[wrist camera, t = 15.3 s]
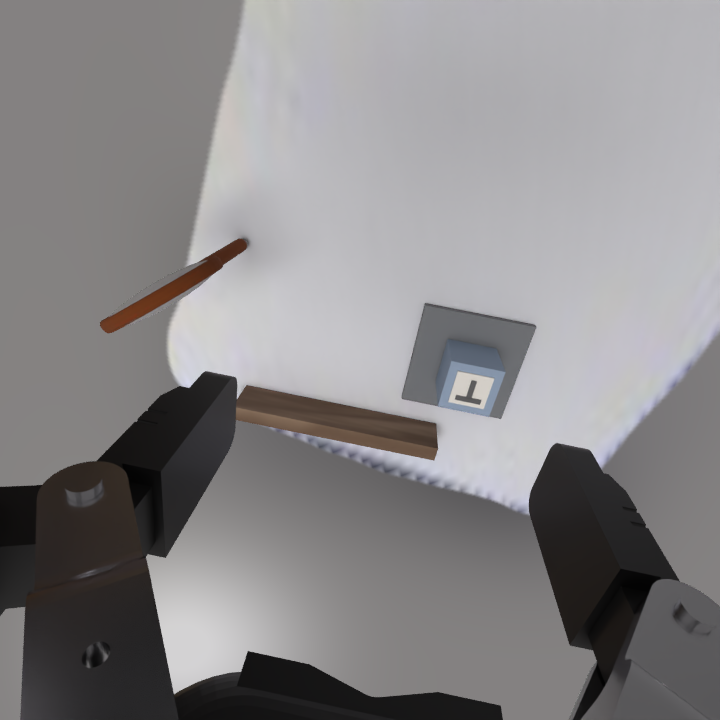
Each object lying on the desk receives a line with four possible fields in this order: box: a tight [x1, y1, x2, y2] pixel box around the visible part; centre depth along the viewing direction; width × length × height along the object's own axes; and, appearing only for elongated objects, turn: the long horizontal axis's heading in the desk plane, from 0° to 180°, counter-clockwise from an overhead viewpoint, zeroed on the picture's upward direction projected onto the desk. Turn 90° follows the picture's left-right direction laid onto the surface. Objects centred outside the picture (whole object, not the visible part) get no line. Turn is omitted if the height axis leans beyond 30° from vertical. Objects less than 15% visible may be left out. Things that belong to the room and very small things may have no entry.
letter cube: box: [436, 339, 506, 417], centre depth 44 cm, size 5×5×5 cm
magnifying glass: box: [100, 239, 247, 333], centre depth 34 cm, size 9×2×20 cm, turn 117°
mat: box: [402, 303, 536, 419], centre depth 46 cm, size 11×11×1 cm
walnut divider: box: [236, 385, 438, 460], centre depth 49 cm, size 2×22×4 cm, turn 80°
